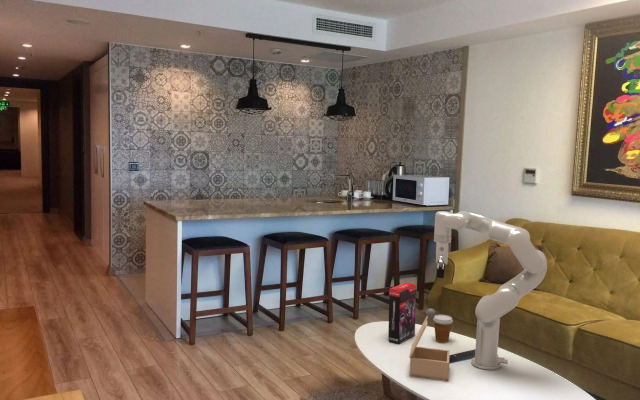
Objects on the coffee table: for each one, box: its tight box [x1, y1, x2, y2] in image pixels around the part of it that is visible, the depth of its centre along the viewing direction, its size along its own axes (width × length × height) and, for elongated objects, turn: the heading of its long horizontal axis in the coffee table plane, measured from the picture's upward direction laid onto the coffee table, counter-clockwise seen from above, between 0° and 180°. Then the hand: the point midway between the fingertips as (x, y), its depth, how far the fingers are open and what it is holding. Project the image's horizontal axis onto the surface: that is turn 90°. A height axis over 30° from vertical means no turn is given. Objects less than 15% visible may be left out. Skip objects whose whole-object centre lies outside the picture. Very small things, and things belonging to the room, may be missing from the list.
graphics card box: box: [387, 281, 417, 345], centre depth 275 cm, size 17×7×27 cm, turn 143°
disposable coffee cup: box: [432, 314, 454, 344], centre depth 275 cm, size 10×10×12 cm
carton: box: [409, 346, 451, 382], centre depth 238 cm, size 16×14×8 cm
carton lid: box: [408, 308, 436, 359], centre depth 237 cm, size 22×14×4 cm
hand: (440, 275), depth 252 cm, fingers open, 9 cm apart
